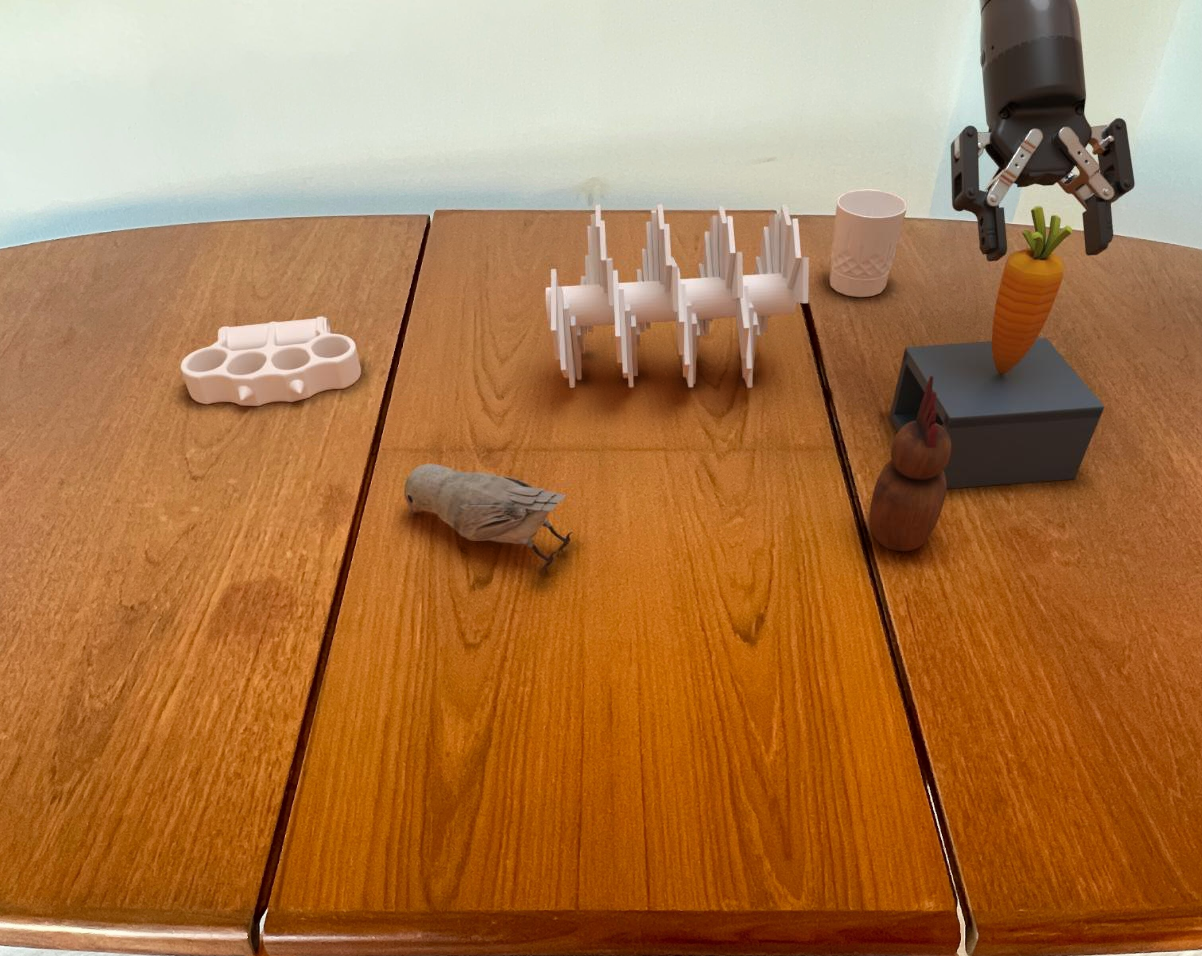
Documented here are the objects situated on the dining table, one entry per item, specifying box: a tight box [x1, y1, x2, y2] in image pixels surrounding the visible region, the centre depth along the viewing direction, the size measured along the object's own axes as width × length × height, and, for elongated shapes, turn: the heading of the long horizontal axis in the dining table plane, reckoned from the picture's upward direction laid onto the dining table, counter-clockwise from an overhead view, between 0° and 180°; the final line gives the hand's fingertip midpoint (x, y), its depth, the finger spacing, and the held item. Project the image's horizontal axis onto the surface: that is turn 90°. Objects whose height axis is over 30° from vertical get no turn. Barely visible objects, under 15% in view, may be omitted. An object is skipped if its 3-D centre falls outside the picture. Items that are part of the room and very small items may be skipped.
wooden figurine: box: [869, 376, 951, 552], centre depth 81 cm, size 7×6×15 cm
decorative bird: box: [403, 463, 574, 576], centre depth 84 cm, size 5×16×8 cm, turn 62°
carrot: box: [991, 205, 1074, 375], centre depth 84 cm, size 5×5×15 cm
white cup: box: [828, 188, 908, 298], centre depth 116 cm, size 8×8×10 cm
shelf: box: [888, 337, 1105, 490], centre depth 92 cm, size 14×12×8 cm
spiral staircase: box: [545, 203, 810, 389], centre depth 99 cm, size 18×18×25 cm
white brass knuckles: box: [180, 316, 362, 407], centre depth 105 cm, size 3×18×15 cm
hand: (1047, 255), depth 80 cm, fingers open, 8 cm apart
